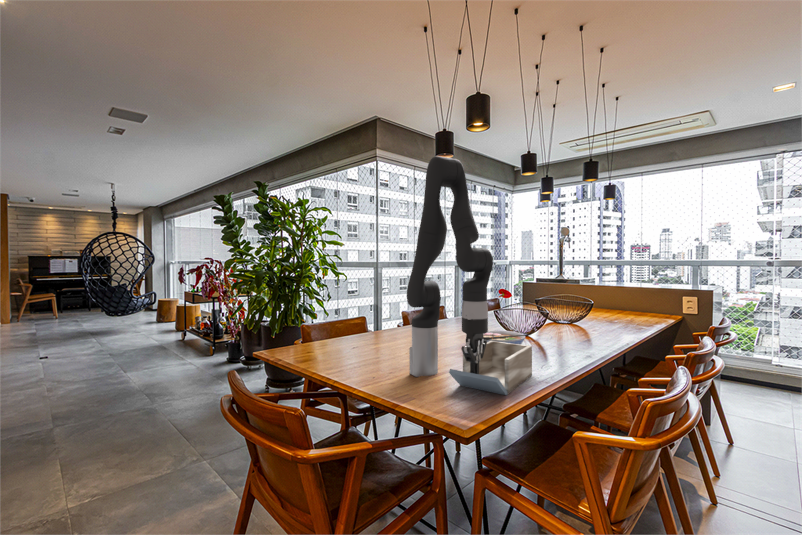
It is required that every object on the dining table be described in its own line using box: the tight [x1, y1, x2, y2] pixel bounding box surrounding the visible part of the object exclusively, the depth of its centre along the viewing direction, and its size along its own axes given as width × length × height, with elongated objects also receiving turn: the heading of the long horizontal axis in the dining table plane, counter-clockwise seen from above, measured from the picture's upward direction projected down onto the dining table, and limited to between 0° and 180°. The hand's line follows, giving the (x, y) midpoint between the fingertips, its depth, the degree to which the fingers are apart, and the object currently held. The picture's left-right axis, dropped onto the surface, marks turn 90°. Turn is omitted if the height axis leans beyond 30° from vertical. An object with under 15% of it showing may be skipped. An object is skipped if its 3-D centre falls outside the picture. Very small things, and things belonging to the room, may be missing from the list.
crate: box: [462, 341, 533, 395], centre depth 124 cm, size 15×22×11 cm
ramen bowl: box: [483, 329, 532, 345], centre depth 167 cm, size 25×23×8 cm
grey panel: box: [448, 368, 509, 396], centre depth 112 cm, size 15×1×11 cm
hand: (474, 374), depth 111 cm, fingers closed
